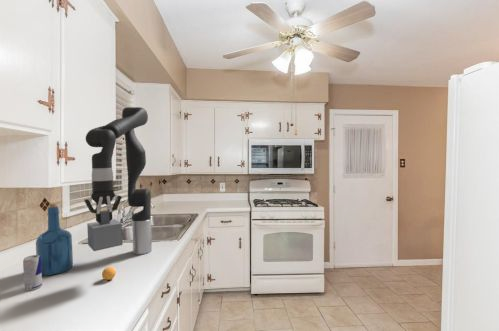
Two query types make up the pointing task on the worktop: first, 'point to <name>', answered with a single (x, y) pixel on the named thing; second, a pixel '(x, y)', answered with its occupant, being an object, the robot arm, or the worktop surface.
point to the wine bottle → (54, 245)
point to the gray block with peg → (104, 233)
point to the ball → (108, 273)
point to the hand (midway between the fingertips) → (104, 221)
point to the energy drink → (32, 272)
